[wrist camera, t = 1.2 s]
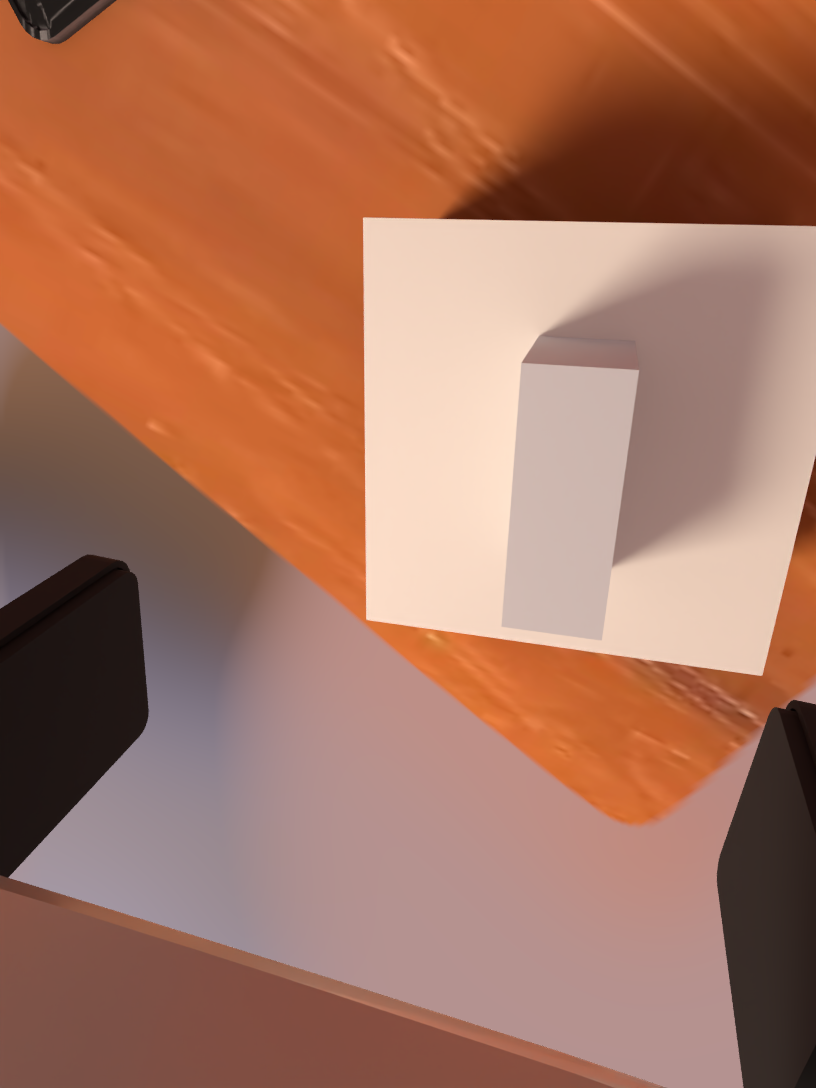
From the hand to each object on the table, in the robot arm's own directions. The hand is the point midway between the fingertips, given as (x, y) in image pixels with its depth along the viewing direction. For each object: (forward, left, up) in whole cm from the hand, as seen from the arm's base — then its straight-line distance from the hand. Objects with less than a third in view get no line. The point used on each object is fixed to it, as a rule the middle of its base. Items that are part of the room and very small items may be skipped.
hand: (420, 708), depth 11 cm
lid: (-1, +1, -17) cm, 17 cm away
